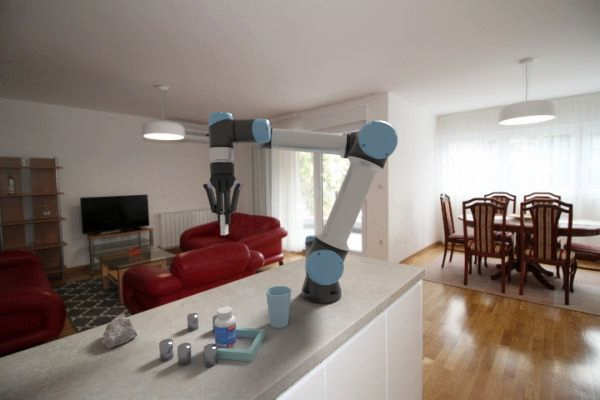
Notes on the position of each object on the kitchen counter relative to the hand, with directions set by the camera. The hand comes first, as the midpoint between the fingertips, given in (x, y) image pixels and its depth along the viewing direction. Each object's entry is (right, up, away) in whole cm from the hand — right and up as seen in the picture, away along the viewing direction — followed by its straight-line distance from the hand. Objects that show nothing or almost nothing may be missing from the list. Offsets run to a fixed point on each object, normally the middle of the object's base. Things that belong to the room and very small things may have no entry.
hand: (224, 234), depth 92 cm
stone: (-26, -28, -13) cm, 40 cm away
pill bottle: (+5, -28, -17) cm, 33 cm away
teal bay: (+9, -27, -18) cm, 34 cm away
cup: (+18, -27, -6) cm, 33 cm away
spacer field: (-2, -28, -16) cm, 32 cm away
